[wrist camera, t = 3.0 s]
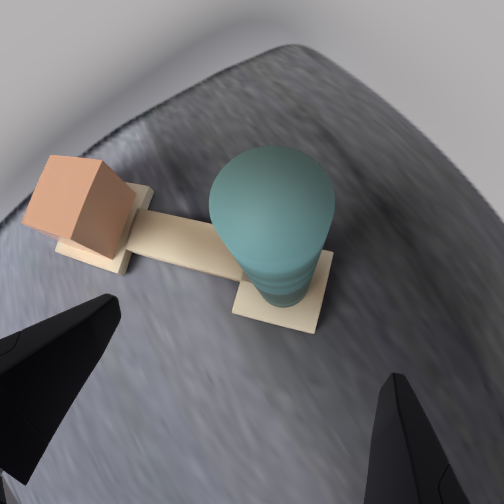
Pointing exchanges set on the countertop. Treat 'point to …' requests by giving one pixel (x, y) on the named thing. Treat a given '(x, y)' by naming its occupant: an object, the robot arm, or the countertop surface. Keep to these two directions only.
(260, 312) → the pull strip
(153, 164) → the countertop surface
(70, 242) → the terracotta cube
